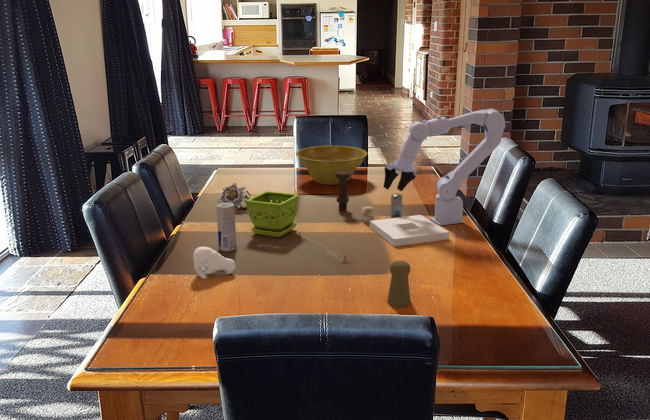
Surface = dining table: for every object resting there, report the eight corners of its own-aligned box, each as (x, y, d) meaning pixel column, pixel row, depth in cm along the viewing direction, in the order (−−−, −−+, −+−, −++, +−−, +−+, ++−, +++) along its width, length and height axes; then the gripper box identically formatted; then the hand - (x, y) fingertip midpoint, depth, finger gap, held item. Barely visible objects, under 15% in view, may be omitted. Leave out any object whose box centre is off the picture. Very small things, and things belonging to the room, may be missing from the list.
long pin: (398, 216, 223) (399, 193, 221) (403, 219, 220) (404, 196, 217) (388, 217, 222) (389, 194, 219) (393, 220, 219) (394, 197, 216)
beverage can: (239, 247, 194) (237, 202, 189) (231, 253, 189) (229, 207, 184) (224, 245, 196) (221, 201, 191) (215, 251, 191) (212, 206, 186)
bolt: (348, 213, 228) (348, 174, 223) (334, 212, 229) (334, 174, 224) (350, 208, 233) (350, 171, 229) (337, 208, 234) (337, 170, 230)
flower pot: (301, 228, 211) (300, 194, 207) (282, 241, 199) (280, 204, 195) (266, 223, 217) (265, 189, 213) (246, 235, 205) (244, 199, 201)
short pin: (370, 219, 221) (370, 206, 219) (374, 222, 217) (374, 209, 216) (360, 220, 220) (360, 207, 218) (364, 223, 216) (364, 210, 215)
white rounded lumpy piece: (193, 243, 172) (235, 244, 175) (193, 271, 175) (234, 271, 177) (192, 251, 166) (236, 252, 169) (192, 279, 169) (235, 280, 171)
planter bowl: (368, 190, 258) (369, 160, 254) (294, 190, 259) (293, 160, 255) (365, 172, 289) (365, 145, 285) (298, 173, 290) (297, 145, 286)
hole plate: (420, 221, 218) (421, 214, 217) (448, 239, 200) (449, 232, 199) (369, 227, 212) (370, 220, 211) (394, 246, 193) (394, 239, 193)
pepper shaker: (385, 297, 158) (386, 258, 154) (408, 296, 158) (409, 257, 155) (389, 307, 152) (390, 267, 149) (413, 306, 152) (414, 266, 149)
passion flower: (232, 224, 233) (212, 201, 229) (236, 210, 243) (217, 189, 238) (255, 209, 230) (235, 186, 226) (258, 196, 240) (239, 174, 235)
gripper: (413, 152, 219) (398, 185, 223) (387, 147, 209) (372, 182, 213) (426, 161, 214) (410, 194, 218) (401, 155, 204) (385, 191, 208)
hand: (392, 189), depth 215 cm, fingers open, 7 cm apart
